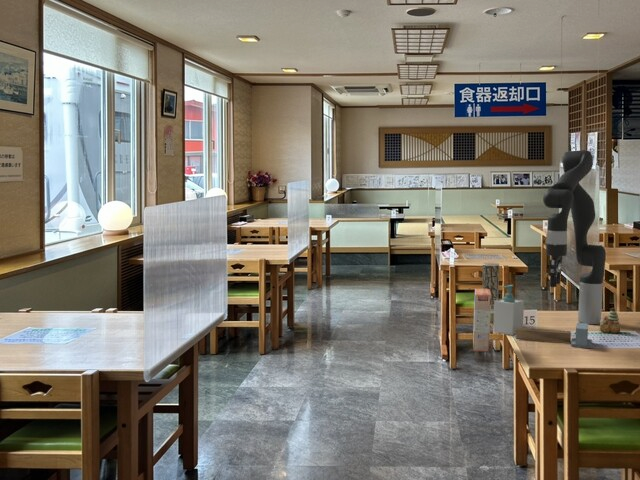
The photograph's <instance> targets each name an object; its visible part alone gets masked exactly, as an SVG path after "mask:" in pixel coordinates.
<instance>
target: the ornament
mask: <svg viewBox="0 0 640 480" xmlns="http://www.w3.org/2000/svg"><path fill="white" fill-rule="evenodd" d="M619 320H620V317H619V314H618V312H617V311H616V308H614V307H612V308H610V311H609V314H608V316H607V315H605V316H602V319H601V321H600V324H599V330H600V332H602V333H606V334H620V332H621V323H620V321H619Z"/></svg>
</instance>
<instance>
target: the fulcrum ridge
mask: <svg viewBox="0 0 640 480" xmlns="http://www.w3.org/2000/svg"><path fill="white" fill-rule="evenodd" d="M588 333H589V324H587V323H580V322H577V323H576V327H575V337H571V343H570V347H573V348H583V349H592V342H593V340H592V339H589V338H588V336H589V335H588Z"/></svg>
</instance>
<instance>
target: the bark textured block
mask: <svg viewBox="0 0 640 480" xmlns="http://www.w3.org/2000/svg"><path fill="white" fill-rule="evenodd" d="M481 281H482V285H481V289H490V292H491V316H490V323H494V301H495V300H499V289H500V287H499V286H500V285H499V282H500V263H499V262H483V263H482V280H481Z"/></svg>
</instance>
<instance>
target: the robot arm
mask: <svg viewBox="0 0 640 480" xmlns="http://www.w3.org/2000/svg"><path fill="white" fill-rule="evenodd" d="M561 161H562V169H563V174H562V175H560V177H559V178H558V179H557V181H556V182H555V183H554V184H553V185H551V186H550V187H549V188H547V189H546V191H545V192H544V193H543V197H542V200H543V201H542V202H543V204H544V206H546V208H549V209H561V210H560V212H559V213H556V214H555V213H554V214H550V215H549V216H547V231H546V237H545V238H546V240H545V255H547V256H551V259H549V260H548V261H549V263H548V264H549V266H548V267H549V268H548V276H549V288H556V287H557V285H560V284H561V275H562V272H563V257H566V256H567V254H568V220H569V215H570V213H571V217H572V223H573V228H574V229H573V231H574V243H575V256H576V260H577V261H576V262H577V263H578V264H579V265H580V266H584V267H590V268H591V267H592V268H591V271H590V272H588V273H583V274H581V275H580V276H579V290H578V292H579V293H578V318H577V323H587V324H588V325H600V321H601V320H602V312H603V311H602V309H603V308H602V307H603V285H604V278H605V277H604V276H605V268H606V267H605V266H606V256H607V255H606V254H607V253H606V249H605V247H604V246H602V245H599V244H597V245H596V244H588V239H587V236H588V232H589V231H590V228H591V227H592V225H593V223H594V221H595V219H596V209H595V208H596V207H595V202H594V200H593V198H592V196H591V195H590V194H589V193H588V191H586V189H584V187H582V185H581V184H580V182H581V181H582V180H583V179H584V178H585V177H586V176H587V175H588V174H590V172H591V171H592V170H593V169H592V168H593V166H594V165H593V164H594V159H593V154H592V152H591V151H589V150H587V149H586V150H583V149H582V150H572V151H570V150H569V151H565V152H564V153H563V155H562V159H561Z"/></svg>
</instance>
